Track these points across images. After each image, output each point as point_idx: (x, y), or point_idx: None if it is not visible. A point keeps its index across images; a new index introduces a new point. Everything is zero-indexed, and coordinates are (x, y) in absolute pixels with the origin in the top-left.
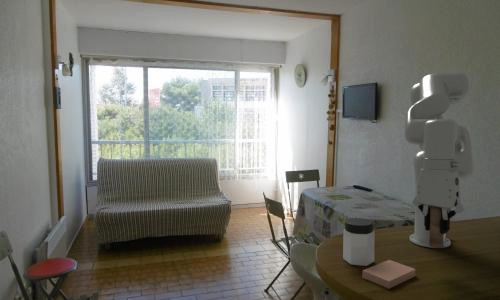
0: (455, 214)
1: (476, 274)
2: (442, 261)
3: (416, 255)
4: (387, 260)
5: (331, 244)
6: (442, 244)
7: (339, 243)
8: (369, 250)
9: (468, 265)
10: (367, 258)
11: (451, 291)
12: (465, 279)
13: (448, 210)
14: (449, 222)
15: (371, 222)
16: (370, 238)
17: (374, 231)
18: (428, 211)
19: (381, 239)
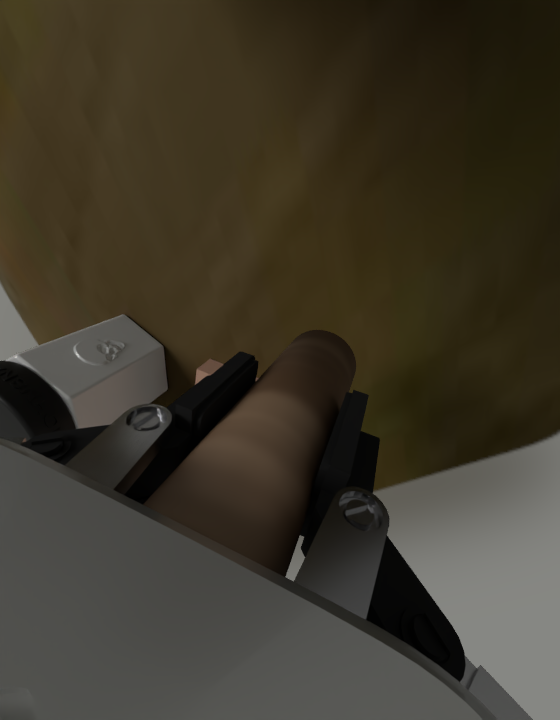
0: (435, 617)
1: (527, 246)
2: (355, 165)
3: (237, 169)
4: (196, 378)
5: (11, 270)
6: (352, 380)
7: (13, 243)
8: (133, 400)
9: (494, 123)
10: (152, 399)
11: (416, 455)
12: (467, 337)
13: (333, 597)
14: (372, 483)
15: (21, 429)
16: (97, 418)
17: (70, 400)
18: (145, 470)
19: (40, 39)
